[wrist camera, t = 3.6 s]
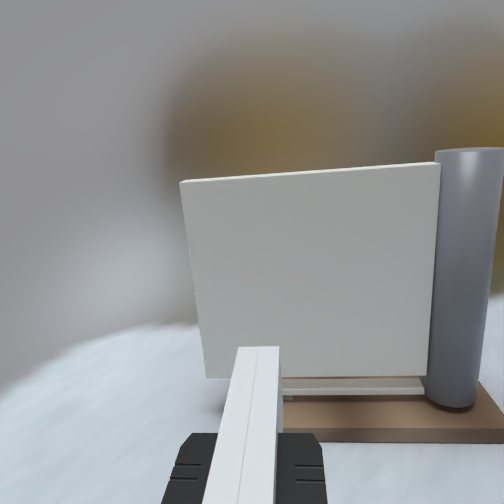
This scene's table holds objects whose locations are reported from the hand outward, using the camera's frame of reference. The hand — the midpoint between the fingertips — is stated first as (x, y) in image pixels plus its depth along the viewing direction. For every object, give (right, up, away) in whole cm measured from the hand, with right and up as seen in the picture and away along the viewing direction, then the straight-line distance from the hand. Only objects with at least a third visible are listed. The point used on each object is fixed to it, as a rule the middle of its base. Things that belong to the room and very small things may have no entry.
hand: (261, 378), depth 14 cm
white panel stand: (+5, -4, +9) cm, 11 cm away
